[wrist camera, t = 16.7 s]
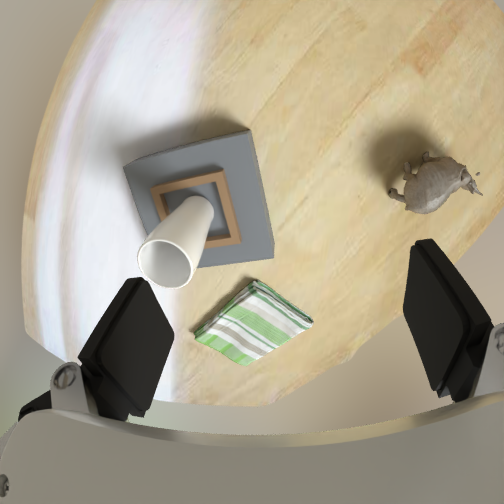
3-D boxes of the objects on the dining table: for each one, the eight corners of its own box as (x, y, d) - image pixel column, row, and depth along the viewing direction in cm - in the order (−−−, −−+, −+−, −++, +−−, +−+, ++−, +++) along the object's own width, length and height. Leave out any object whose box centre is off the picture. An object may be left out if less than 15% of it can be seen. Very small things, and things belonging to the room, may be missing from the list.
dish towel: (315, 318, 59) (316, 330, 56) (248, 363, 70) (246, 373, 67) (255, 274, 55) (254, 285, 52) (192, 330, 65) (189, 341, 62)
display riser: (136, 159, 44) (118, 169, 38) (250, 129, 40) (246, 135, 35) (171, 257, 54) (160, 277, 48) (274, 242, 50) (273, 263, 44)
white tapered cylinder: (175, 189, 41) (131, 236, 28) (219, 190, 40) (191, 240, 28) (178, 229, 44) (141, 286, 32) (220, 231, 44) (195, 293, 31)
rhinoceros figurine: (371, 166, 39) (461, 187, 27) (411, 139, 42) (484, 153, 30) (378, 209, 43) (458, 237, 31) (415, 176, 47) (483, 195, 35)
